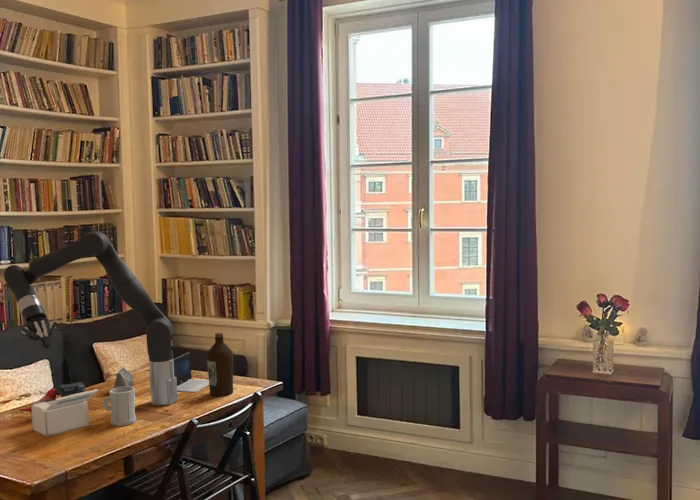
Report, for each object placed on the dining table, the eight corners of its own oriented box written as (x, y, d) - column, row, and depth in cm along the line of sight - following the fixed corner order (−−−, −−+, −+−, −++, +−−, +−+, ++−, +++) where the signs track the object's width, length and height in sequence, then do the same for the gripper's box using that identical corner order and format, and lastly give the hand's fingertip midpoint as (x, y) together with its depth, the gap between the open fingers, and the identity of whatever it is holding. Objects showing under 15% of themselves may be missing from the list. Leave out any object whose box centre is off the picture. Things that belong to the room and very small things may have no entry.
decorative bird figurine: (62, 412, 255) (60, 386, 254) (22, 427, 239) (20, 399, 238) (56, 411, 256) (55, 386, 255) (16, 426, 240) (15, 399, 239)
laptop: (195, 393, 277) (194, 362, 276) (169, 391, 281) (167, 361, 280) (216, 382, 294) (215, 352, 294) (191, 380, 298) (189, 351, 297)
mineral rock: (128, 384, 293) (127, 362, 292) (146, 387, 288) (145, 364, 287) (105, 392, 282) (103, 369, 281) (123, 395, 277) (121, 371, 276)
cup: (107, 428, 234) (105, 395, 234) (104, 421, 243) (102, 389, 242) (138, 423, 239) (136, 390, 238) (134, 416, 247) (132, 384, 247)
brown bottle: (227, 388, 282) (224, 329, 281) (239, 393, 274) (236, 333, 272) (203, 393, 276) (201, 333, 274) (215, 398, 268) (213, 337, 266)
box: (64, 415, 251) (62, 388, 250) (61, 412, 256) (59, 384, 255) (86, 411, 255) (84, 384, 255) (83, 408, 260) (81, 381, 259)
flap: (46, 408, 227) (56, 398, 221) (86, 398, 238) (97, 388, 231) (47, 410, 227) (57, 400, 221) (87, 400, 237) (97, 391, 231)
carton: (32, 429, 236) (30, 404, 236) (74, 418, 247) (72, 394, 246) (46, 436, 228) (45, 411, 227) (89, 425, 239) (87, 400, 238)
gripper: (14, 307, 242) (30, 345, 235) (51, 300, 251) (68, 337, 244) (11, 319, 246) (26, 357, 239) (47, 312, 256) (63, 349, 248)
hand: (47, 347), depth 242 cm, fingers closed
